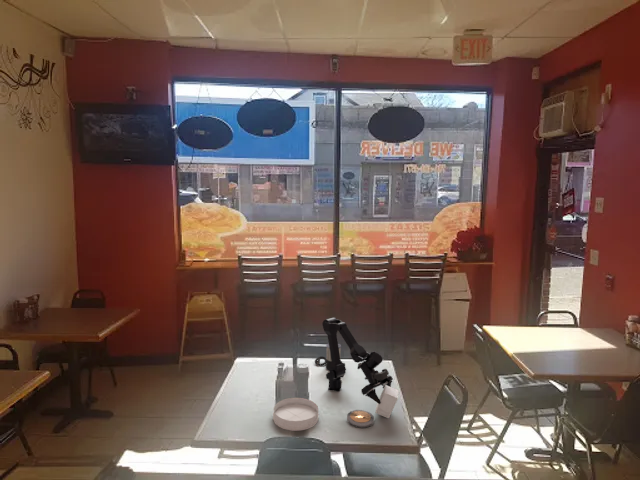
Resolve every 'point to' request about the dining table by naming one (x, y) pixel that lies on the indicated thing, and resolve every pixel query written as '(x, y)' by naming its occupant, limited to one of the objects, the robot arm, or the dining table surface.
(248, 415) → the dining table surface
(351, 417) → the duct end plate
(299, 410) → the dish
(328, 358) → the milk frother
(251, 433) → the dining table surface
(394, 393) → the supplement box
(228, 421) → the dining table surface
